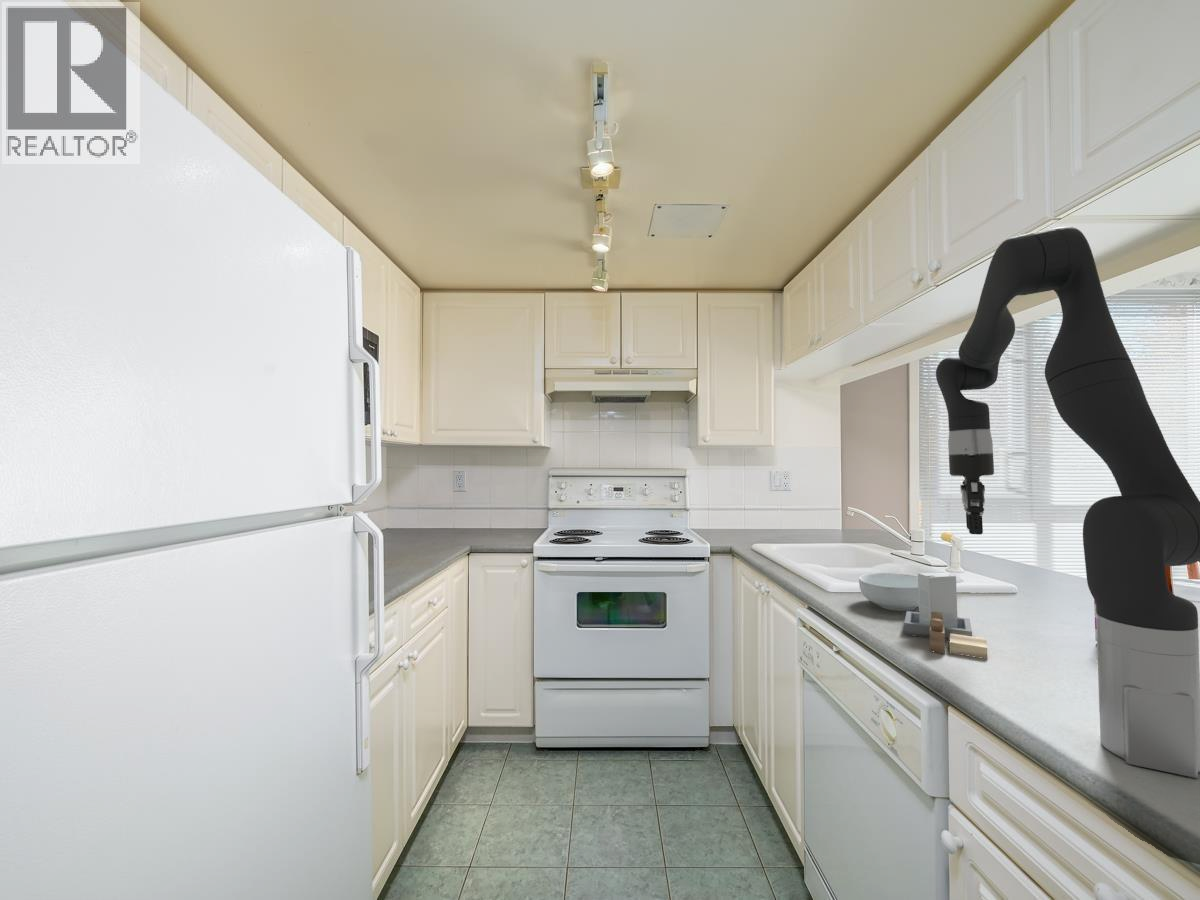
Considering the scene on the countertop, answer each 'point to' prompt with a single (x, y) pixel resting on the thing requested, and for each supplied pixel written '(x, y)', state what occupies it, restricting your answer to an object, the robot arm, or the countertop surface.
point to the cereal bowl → (891, 590)
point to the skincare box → (937, 597)
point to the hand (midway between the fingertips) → (974, 531)
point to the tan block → (968, 645)
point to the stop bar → (937, 633)
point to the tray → (924, 630)
